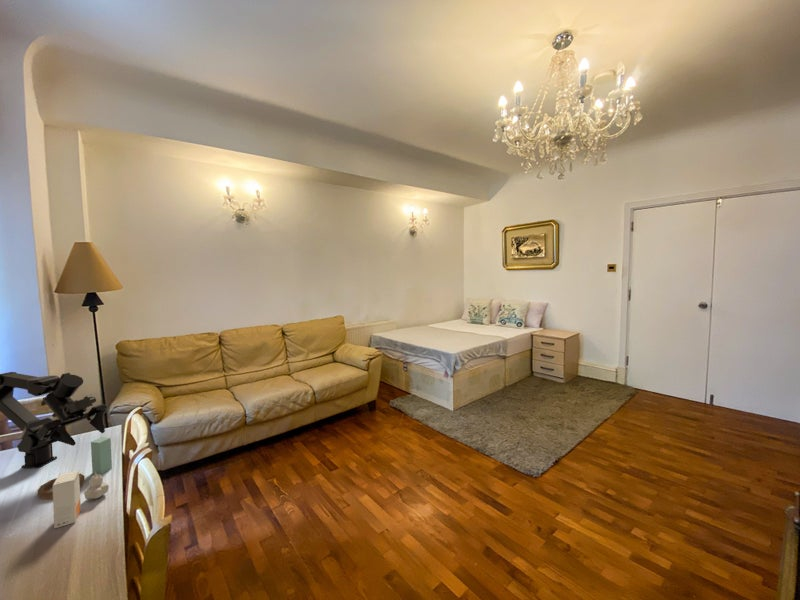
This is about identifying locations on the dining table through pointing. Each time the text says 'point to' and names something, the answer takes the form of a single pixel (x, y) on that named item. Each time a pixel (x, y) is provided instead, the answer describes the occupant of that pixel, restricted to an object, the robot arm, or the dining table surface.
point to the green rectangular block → (101, 455)
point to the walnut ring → (49, 494)
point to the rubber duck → (96, 487)
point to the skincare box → (66, 499)
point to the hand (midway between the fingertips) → (89, 438)
